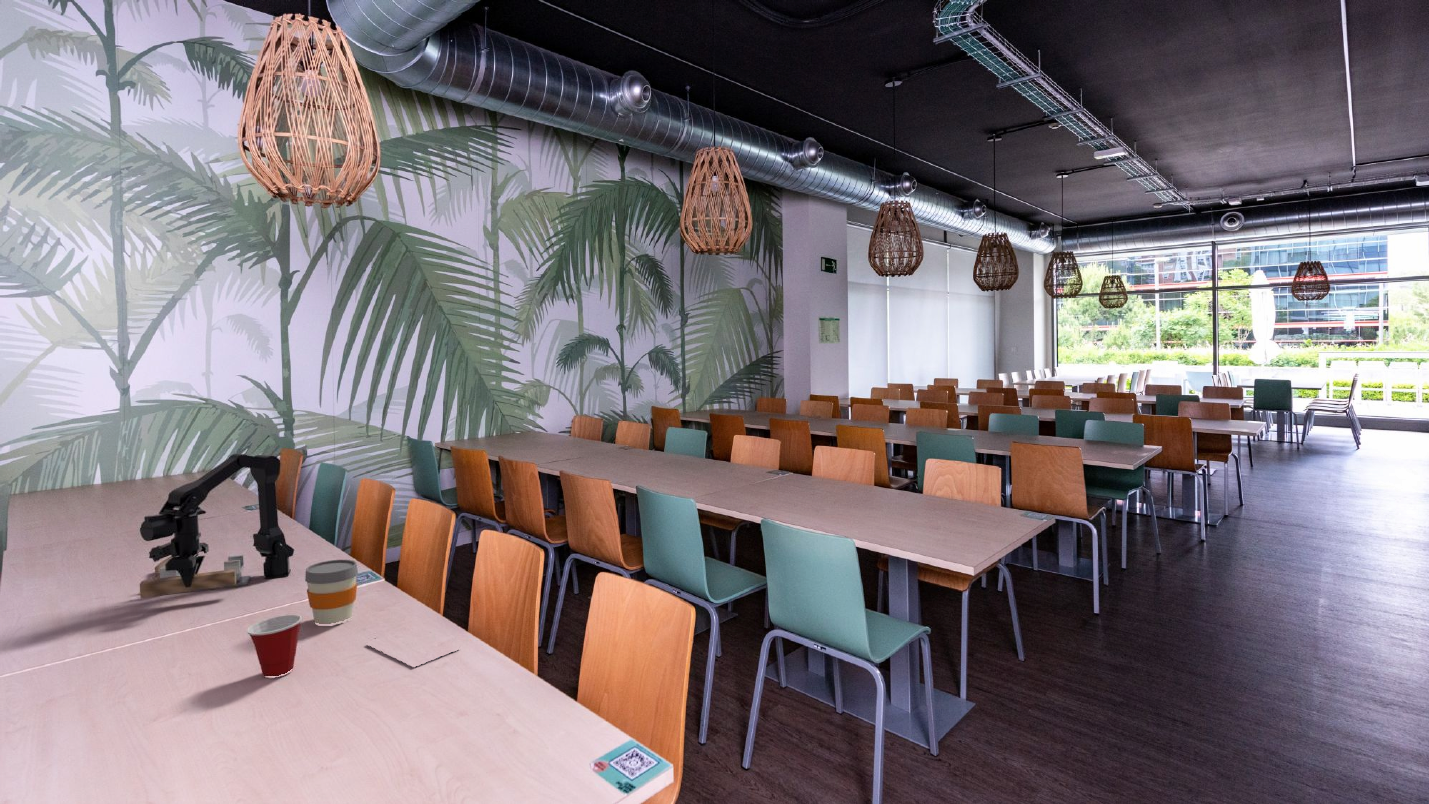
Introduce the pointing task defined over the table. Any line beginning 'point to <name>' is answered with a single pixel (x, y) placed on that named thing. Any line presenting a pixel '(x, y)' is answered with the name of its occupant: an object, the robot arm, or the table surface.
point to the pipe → (161, 565)
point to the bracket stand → (232, 563)
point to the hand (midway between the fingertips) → (189, 585)
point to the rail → (177, 585)
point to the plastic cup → (276, 643)
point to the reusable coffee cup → (332, 590)
